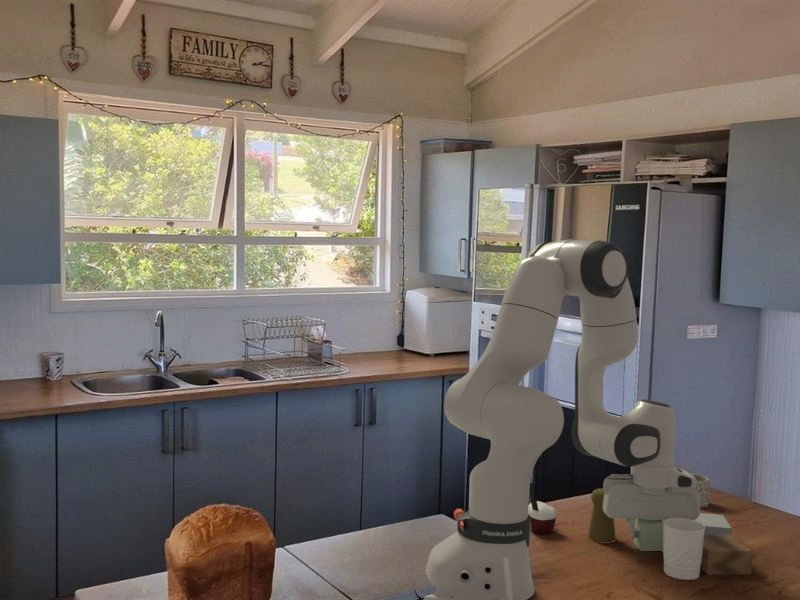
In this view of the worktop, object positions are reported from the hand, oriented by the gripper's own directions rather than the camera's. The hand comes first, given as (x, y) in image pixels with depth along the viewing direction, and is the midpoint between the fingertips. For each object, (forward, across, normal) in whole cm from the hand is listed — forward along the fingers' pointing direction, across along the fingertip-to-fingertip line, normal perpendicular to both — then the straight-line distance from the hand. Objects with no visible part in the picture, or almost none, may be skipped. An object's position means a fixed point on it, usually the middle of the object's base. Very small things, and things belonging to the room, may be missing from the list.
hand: (649, 537), depth 176 cm
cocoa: (+2, -22, +9) cm, 24 cm away
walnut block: (+2, +11, -9) cm, 15 cm away
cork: (+2, -9, +5) cm, 11 cm away
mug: (+2, +20, +32) cm, 38 cm away
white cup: (+2, +2, -14) cm, 14 cm away
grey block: (+2, +14, +5) cm, 15 cm away
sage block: (+2, 0, 0) cm, 2 cm away
